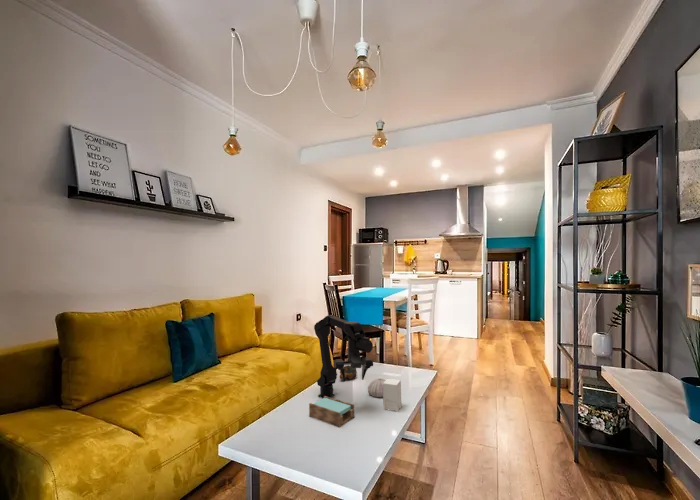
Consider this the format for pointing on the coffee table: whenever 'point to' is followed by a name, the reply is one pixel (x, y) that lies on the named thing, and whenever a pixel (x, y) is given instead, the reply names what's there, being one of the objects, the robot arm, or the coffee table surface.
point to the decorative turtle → (349, 372)
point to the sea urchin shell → (376, 387)
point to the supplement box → (392, 394)
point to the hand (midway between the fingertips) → (353, 380)
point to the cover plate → (333, 405)
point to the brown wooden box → (331, 414)
